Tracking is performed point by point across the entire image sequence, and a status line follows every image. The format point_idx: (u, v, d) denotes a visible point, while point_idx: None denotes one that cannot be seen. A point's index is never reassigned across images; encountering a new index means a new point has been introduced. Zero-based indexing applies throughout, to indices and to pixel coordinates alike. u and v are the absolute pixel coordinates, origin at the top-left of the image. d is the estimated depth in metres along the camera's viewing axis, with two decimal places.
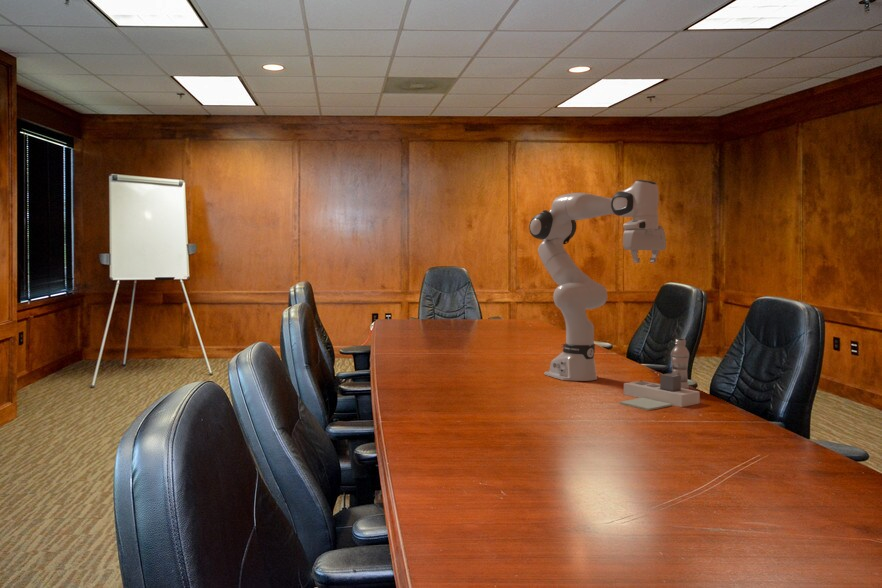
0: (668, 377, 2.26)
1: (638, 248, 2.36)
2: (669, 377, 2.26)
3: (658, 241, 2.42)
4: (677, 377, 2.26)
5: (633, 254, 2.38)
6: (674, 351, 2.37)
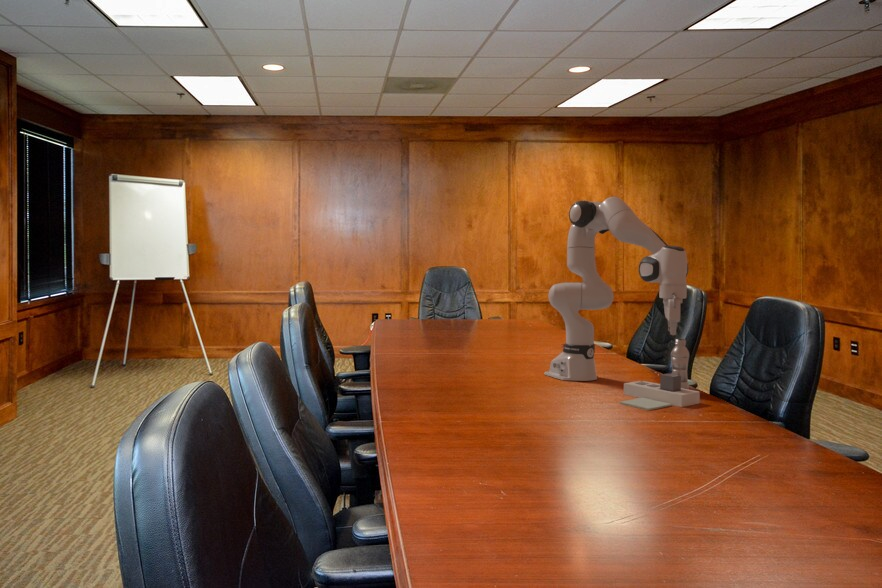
0: (668, 377, 2.26)
1: (665, 316, 2.33)
2: (669, 377, 2.26)
3: None
4: (677, 377, 2.26)
5: None
6: (674, 351, 2.37)
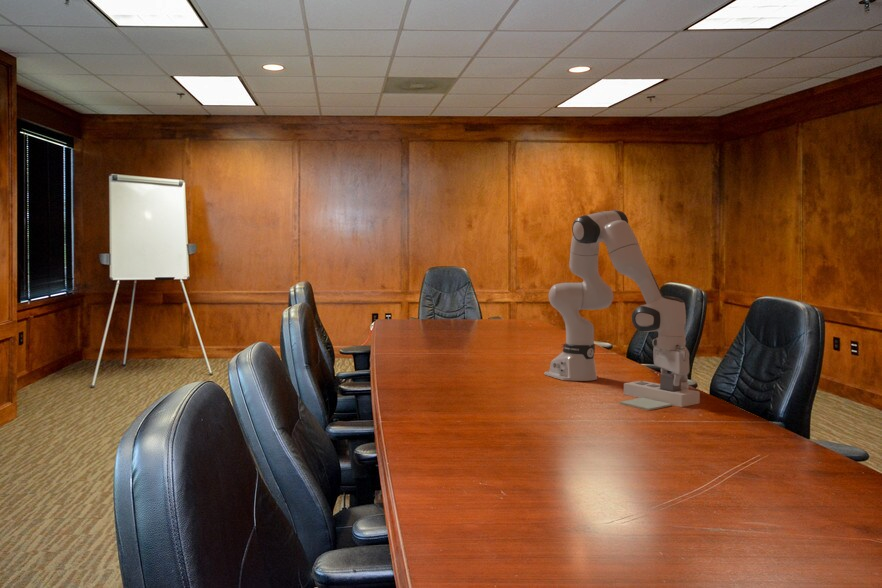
0: (668, 377, 2.26)
1: (658, 365, 2.33)
2: (669, 377, 2.26)
3: (673, 363, 2.22)
4: None
5: None
6: None
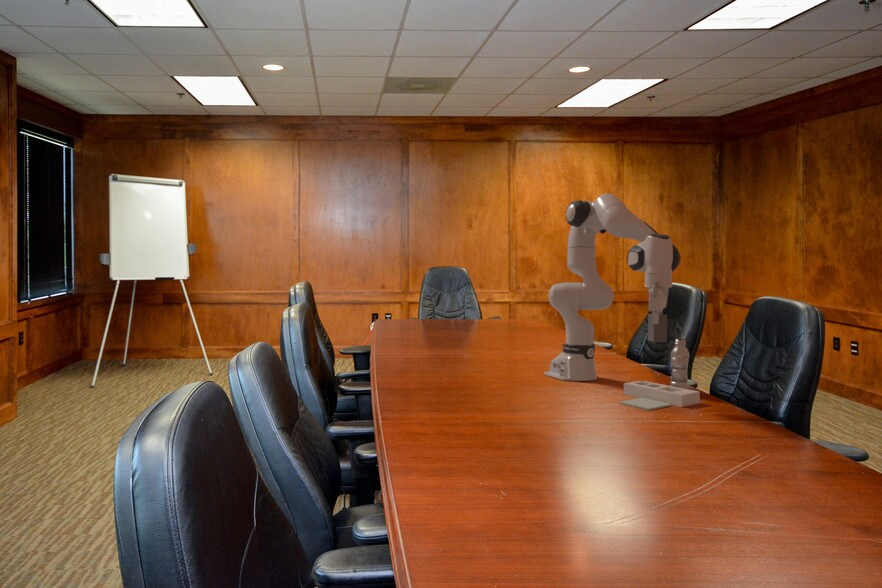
0: (652, 316, 2.22)
1: None
2: (652, 316, 2.22)
3: None
4: (661, 316, 2.20)
5: None
6: (674, 351, 2.37)
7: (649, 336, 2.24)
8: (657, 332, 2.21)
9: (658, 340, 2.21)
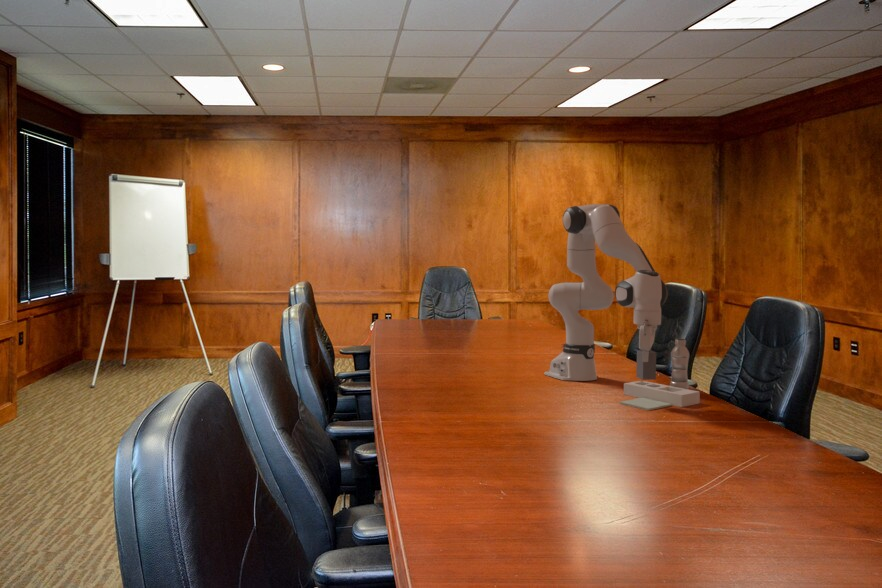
0: (641, 353, 2.20)
1: None
2: (641, 353, 2.20)
3: None
4: (650, 353, 2.19)
5: None
6: (674, 351, 2.37)
7: (638, 373, 2.22)
8: (646, 369, 2.19)
9: (647, 377, 2.19)
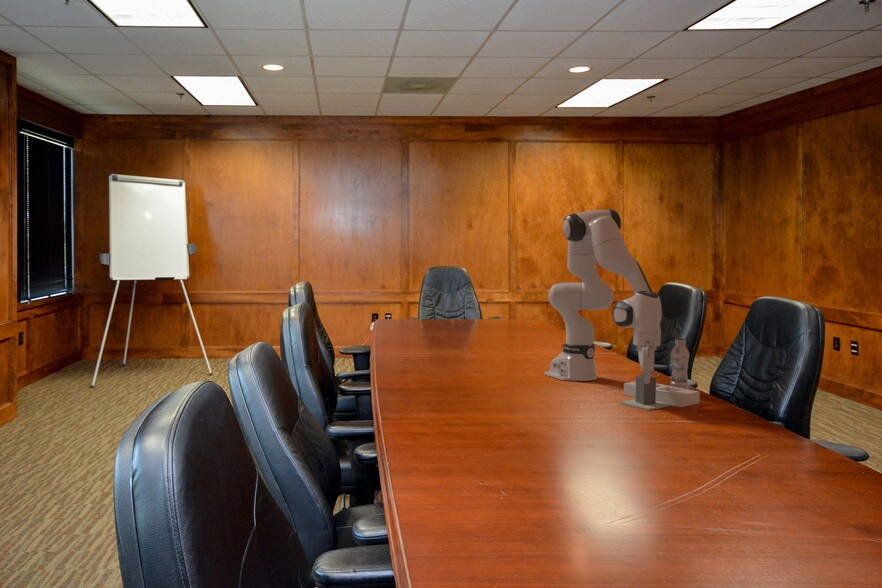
0: (641, 378, 2.21)
1: None
2: (641, 378, 2.20)
3: (641, 360, 2.17)
4: (650, 379, 2.20)
5: None
6: (674, 351, 2.37)
7: (637, 398, 2.23)
8: (647, 395, 2.20)
9: (648, 402, 2.20)
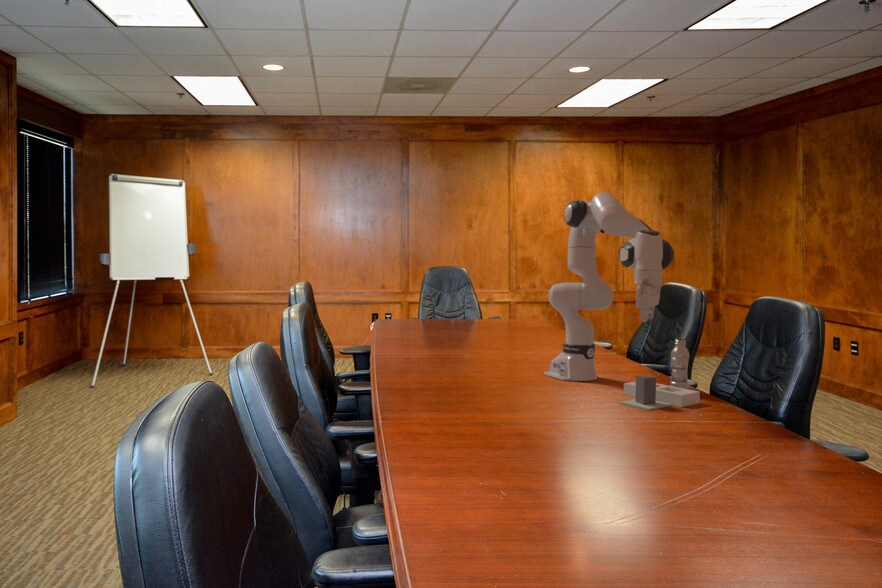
0: (641, 378, 2.21)
1: None
2: (641, 378, 2.20)
3: None
4: (650, 379, 2.20)
5: None
6: (674, 351, 2.37)
7: (637, 398, 2.23)
8: (647, 395, 2.20)
9: (648, 402, 2.20)
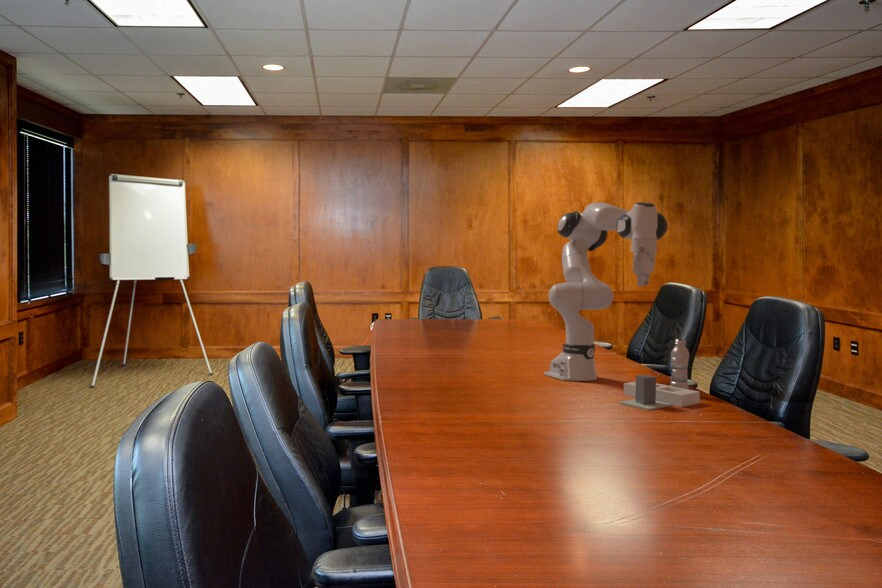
0: (641, 378, 2.21)
1: None
2: (641, 378, 2.20)
3: None
4: (650, 379, 2.20)
5: None
6: (674, 351, 2.37)
7: (637, 398, 2.23)
8: (647, 395, 2.20)
9: (648, 402, 2.20)
